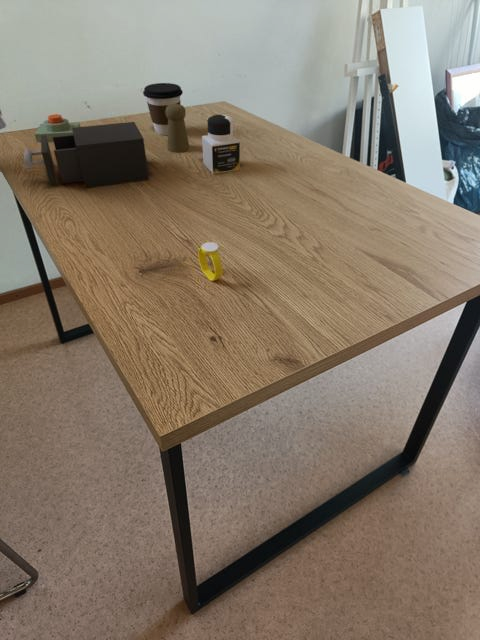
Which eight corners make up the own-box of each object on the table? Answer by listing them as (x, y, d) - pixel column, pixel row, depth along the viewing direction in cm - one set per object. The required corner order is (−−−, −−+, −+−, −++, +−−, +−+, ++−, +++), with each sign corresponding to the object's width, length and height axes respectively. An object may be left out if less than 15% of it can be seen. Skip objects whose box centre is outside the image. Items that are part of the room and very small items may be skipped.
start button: (48, 125, 126) (46, 118, 125) (50, 121, 128) (48, 114, 127) (61, 124, 126) (60, 117, 125) (63, 120, 129) (62, 114, 128)
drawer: (30, 190, 100) (19, 155, 95) (30, 170, 108) (20, 137, 103) (112, 179, 105) (106, 145, 100) (106, 161, 113) (100, 129, 108)
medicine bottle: (213, 174, 109) (211, 123, 102) (203, 164, 114) (200, 114, 107) (240, 170, 112) (240, 119, 104) (229, 160, 117) (228, 110, 109)
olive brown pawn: (163, 150, 121) (158, 106, 114) (174, 143, 126) (170, 100, 119) (183, 153, 120) (179, 109, 113) (193, 146, 124) (190, 103, 117)
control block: (36, 142, 126) (32, 127, 123) (42, 131, 132) (38, 117, 130) (77, 140, 127) (74, 125, 124) (80, 129, 134) (77, 115, 131)
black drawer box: (85, 188, 103) (75, 145, 97) (81, 167, 112) (72, 127, 106) (148, 179, 107) (143, 138, 101) (139, 160, 116) (134, 121, 110)
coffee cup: (148, 126, 137) (143, 82, 129) (185, 125, 138) (182, 82, 130) (147, 138, 128) (141, 93, 121) (185, 137, 129) (182, 92, 121)
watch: (195, 270, 78) (193, 240, 74) (209, 265, 79) (207, 235, 75) (212, 287, 74) (210, 257, 70) (226, 282, 75) (226, 252, 72)
